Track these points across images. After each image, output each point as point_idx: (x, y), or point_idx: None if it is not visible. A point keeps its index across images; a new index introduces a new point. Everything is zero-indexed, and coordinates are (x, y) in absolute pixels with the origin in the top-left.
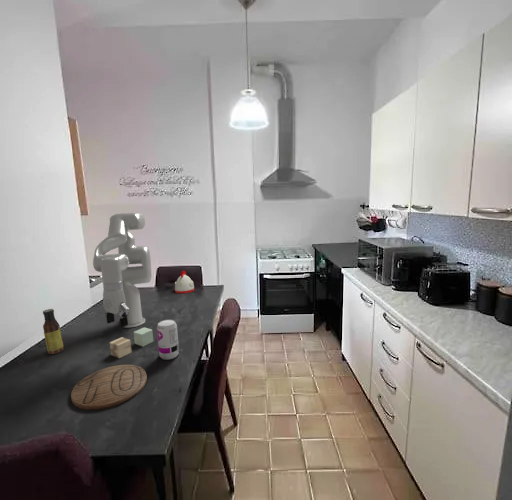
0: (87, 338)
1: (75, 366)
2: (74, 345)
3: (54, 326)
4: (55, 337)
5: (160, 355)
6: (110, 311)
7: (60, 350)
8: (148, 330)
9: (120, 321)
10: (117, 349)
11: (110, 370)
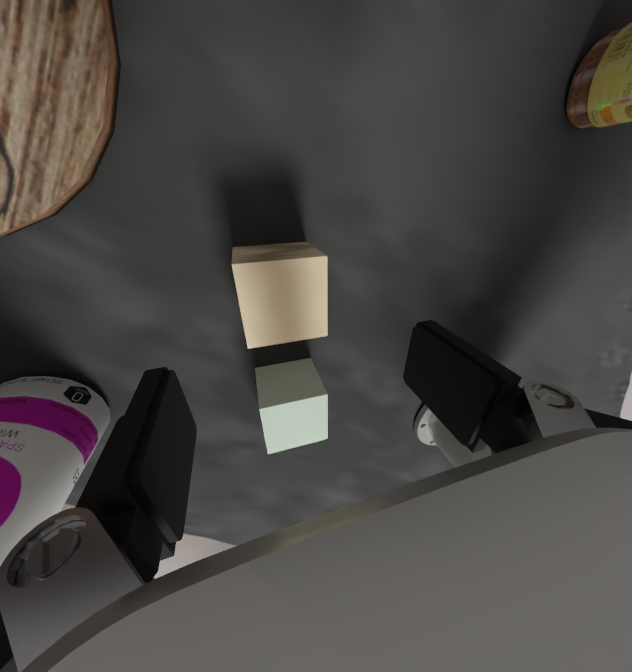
0: (527, 260)
1: (365, 14)
2: (541, 187)
3: None
4: None
5: (29, 384)
6: (415, 564)
7: (576, 90)
8: (276, 441)
9: (120, 435)
10: (242, 256)
11: (27, 74)
